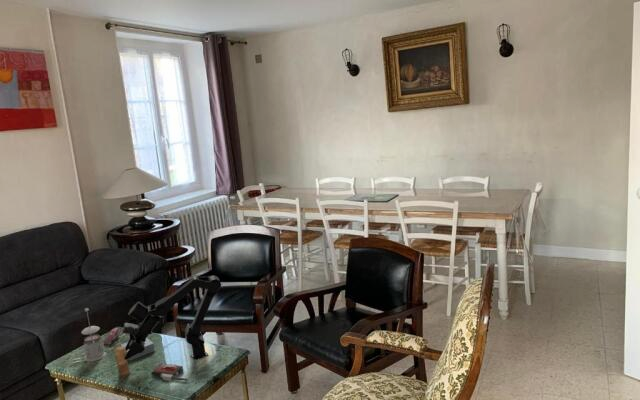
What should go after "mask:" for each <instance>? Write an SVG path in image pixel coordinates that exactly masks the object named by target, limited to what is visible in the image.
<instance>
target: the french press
mask: <svg viewBox="0 0 640 400" xmlns="http://www.w3.org/2000/svg"><path fill="white" fill-rule="evenodd" d="M88 311H90V309H89V308H88V307H86V308H84V312H86V314H87V320H88V325H89V326H88V327H85V328H84V329H82V331H81V332H80V333H81V334H82V335H84V336H85V335H87V337H85V338H84V340H83V341H84V342H83V346H84V351H85V357H84V361H85V362H95V361H99V360H101V359H103V358H105V356H106V355H107V352H106V351H104V346H103V344H104V343H103V339H102V337H101V335H100V334H95V333H97V332H98V331H100V329H101V328H100V327H99V326H96V325H91V324H90V319H89V313H88Z"/></svg>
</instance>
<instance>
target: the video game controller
mask: <svg viewBox="0 0 640 400" xmlns="http://www.w3.org/2000/svg"><path fill="white" fill-rule="evenodd" d="M120 331H121V328H120V327H114V328H112V329H111V330H110V332H109V334H108V335H107V337H106V338H105V339H104V340H103V344H104V345H107V344H109V343H110V342H112V341H115V339H117V338H118V334H119V333H120Z"/></svg>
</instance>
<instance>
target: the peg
mask: <svg viewBox="0 0 640 400" xmlns="http://www.w3.org/2000/svg"><path fill="white" fill-rule="evenodd" d="M114 355H115V360H116V367H117V370H118V371H117V372H118V376H119V378H126V377H129V375H130V374H131V373H130V367H129V362H128V361H129V360H128V359H127V360H125V359H124V358H125V356H126V350H125V347H121V346H118V347H117V348H115V349H114Z"/></svg>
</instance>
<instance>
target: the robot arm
mask: <svg viewBox="0 0 640 400" xmlns="http://www.w3.org/2000/svg"><path fill="white" fill-rule="evenodd" d="M221 287H222V283H221V280H220V278H219V277H218V276H216V275H211V276H193V277H191V278H190V280H188V281H187V282H186V283H184V284H183V285H181V287H179V288H178V289H177V290H175V291H174V292H173V293H171V294H170V295H167V296H164V297H163V298H161V299H159V300H157V301H156V302H155V303H152V304H149V305H147V306H146V305H144V304H143V303H142V302H141V301H137V302H136V303H134V305H133V306H132V307H130V309H129V312H128V313H127V314H128V316H129V317H131V318H133V319H135V320H137V321H138V322H139V323H138V324H135V323H131V322H125V323H124V324H123V328H122V334H128V335H129V339H128V341H127V342H128V343H127V342H126V343H127V345H126V347H125V350H126V351H127V350H128V349H129V350H128V352H127V354H126V356H125V358H124V359H125V360H127V361H128V360H129V358H131V357H132V356H134V355H136V354H138V353H142V352H143V351H144V350H145V346H144V343H143V342H145V341H146V338H148V337H149V335H150V336H151V334H152V333H153V330H154V329H155V327H156V326H157V325H158V324H159V323H161V324H164V323H165V322H164V316H166V315H168V313H169V312H170V311H171V310H172V309H173V307H174V306H175V304H177V303H178V302H180V301H181V300H182V299H183V298H185V297H186V296H187V295H188V294H190V293H191V292H192V291H193V290H195V289H197V288H199V289H203V290H204V294H203V296H202V299H201V302H200V304H199V306H198V308H197V311H196V314H195V316H194V318H193V321H191V323H189V322H188V323H187V324H186V328H185V329H184V336H185V340H186V342H187V343H188V344H189V345H191V352H192V353H191V354H190V355H189V356H190V357H191V358H193V359H194V360H195V361H198V360H200V359H202V358H206V357H207V355H208V356H209V353H208V352H207V351H206V348H205V338H204V336H203V334H202V332H201V330H202V326H203V325H202V324H203V322H204V320H205V318H206V316H207V313H208V311H209V308H210V306H211V303H212V301H213V299H214V297H215V296H216V295H217V294H218V293H219V291H220V289H221ZM140 321H141V322H140ZM141 341H143V342H141Z"/></svg>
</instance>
